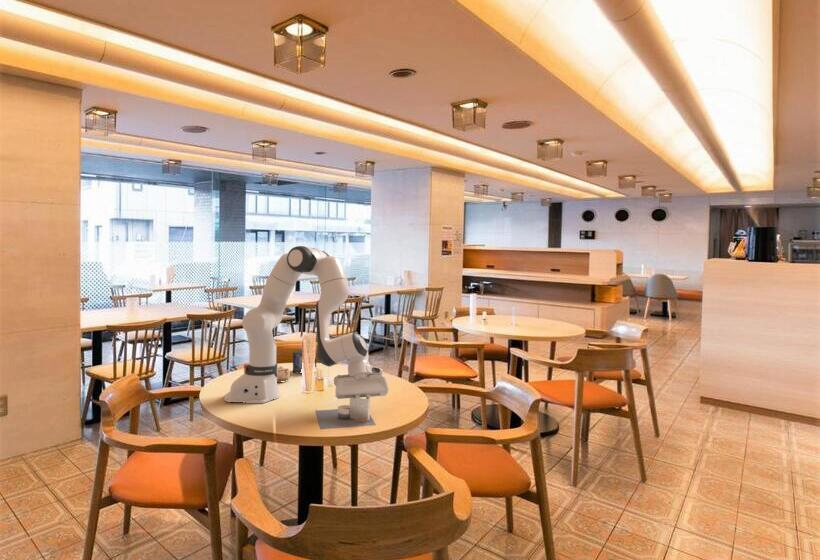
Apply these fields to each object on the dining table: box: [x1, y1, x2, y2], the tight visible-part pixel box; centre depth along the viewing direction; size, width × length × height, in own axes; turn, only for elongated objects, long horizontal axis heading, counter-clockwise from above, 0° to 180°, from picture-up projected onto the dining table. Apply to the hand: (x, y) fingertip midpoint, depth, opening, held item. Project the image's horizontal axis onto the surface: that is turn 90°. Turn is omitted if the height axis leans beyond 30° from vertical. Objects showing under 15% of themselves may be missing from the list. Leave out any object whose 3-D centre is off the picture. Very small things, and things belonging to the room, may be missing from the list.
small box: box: [292, 349, 317, 374], centre depth 256 cm, size 11×6×10 cm, turn 70°
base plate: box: [315, 408, 377, 430], centre depth 189 cm, size 20×20×1 cm
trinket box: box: [277, 363, 291, 382], centre depth 240 cm, size 13×15×8 cm
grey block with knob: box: [337, 397, 371, 421], centre depth 188 cm, size 12×5×8 cm, turn 69°
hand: (364, 406), depth 189 cm, fingers closed
